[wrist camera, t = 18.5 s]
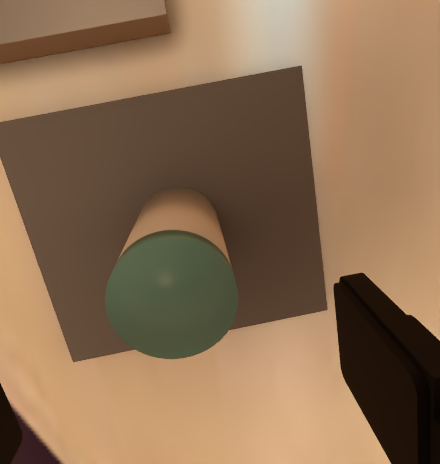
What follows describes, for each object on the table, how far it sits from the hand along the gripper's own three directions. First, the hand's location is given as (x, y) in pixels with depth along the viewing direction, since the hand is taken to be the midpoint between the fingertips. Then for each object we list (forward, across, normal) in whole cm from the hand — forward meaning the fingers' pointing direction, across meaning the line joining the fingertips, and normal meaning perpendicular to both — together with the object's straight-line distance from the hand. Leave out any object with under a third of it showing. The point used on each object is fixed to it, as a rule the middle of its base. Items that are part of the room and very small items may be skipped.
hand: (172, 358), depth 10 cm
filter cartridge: (+14, 0, +1) cm, 14 cm away
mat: (+15, +1, +1) cm, 15 cm away
